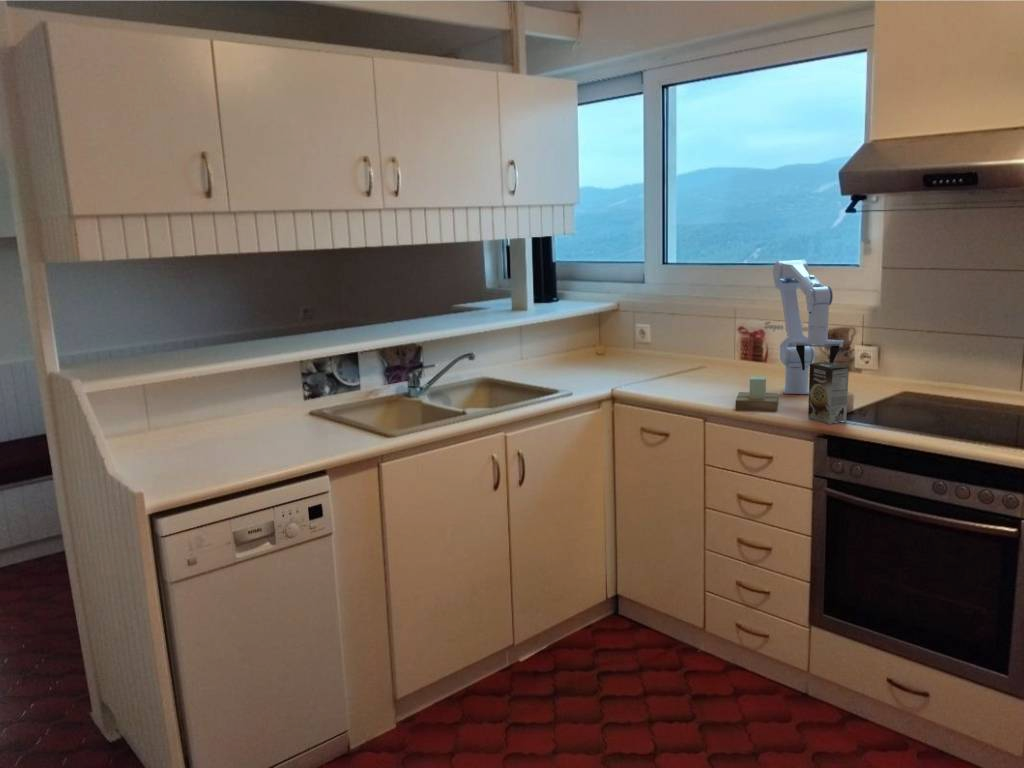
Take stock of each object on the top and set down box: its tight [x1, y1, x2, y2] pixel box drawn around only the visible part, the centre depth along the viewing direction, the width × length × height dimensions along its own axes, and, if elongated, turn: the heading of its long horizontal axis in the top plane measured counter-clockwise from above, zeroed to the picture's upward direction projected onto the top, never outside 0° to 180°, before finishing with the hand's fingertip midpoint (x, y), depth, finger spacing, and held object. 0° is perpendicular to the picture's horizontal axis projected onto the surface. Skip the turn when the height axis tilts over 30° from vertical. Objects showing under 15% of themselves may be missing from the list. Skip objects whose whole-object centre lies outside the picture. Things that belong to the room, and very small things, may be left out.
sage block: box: [749, 375, 767, 399], centre depth 252 cm, size 4×4×6 cm
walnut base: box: [735, 391, 780, 412], centre depth 253 cm, size 12×12×3 cm
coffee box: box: [807, 361, 850, 425], centre depth 232 cm, size 9×6×16 cm
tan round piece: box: [847, 392, 855, 413], centre depth 243 cm, size 5×5×5 cm
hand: (816, 369), depth 253 cm, fingers open, 7 cm apart
